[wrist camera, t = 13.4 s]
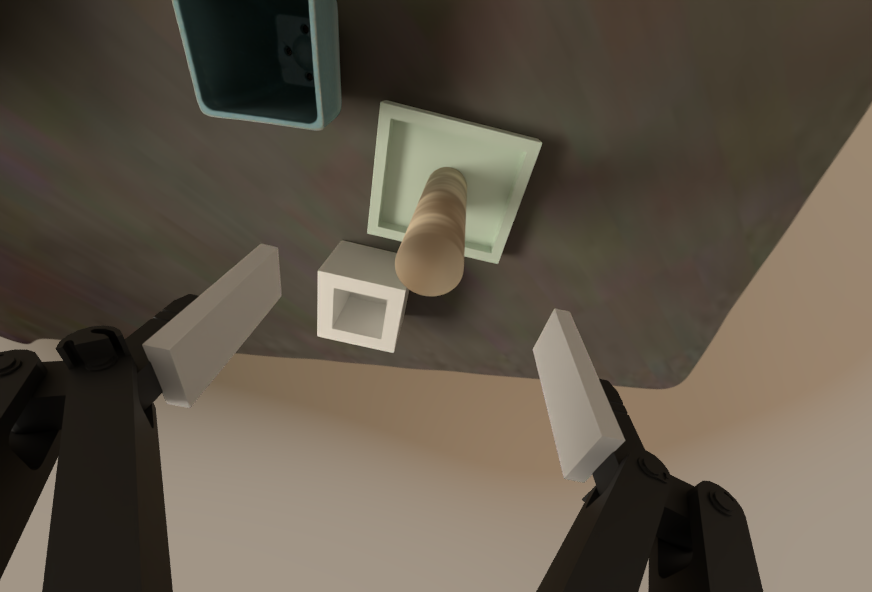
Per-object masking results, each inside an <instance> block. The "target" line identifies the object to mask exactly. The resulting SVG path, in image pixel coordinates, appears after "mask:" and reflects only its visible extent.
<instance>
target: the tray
mask: <svg viewBox="0 0 872 592" xmlns="http://www.w3.org/2000/svg"><path fill="white" fill-rule="evenodd" d="M541 146H542V142H541V141H540V140H539V139H537V138H533V137H529V136H525V135H521V134H518V133H514V132H510V131H506V130H502V129H498V128H494V127H490V126H486V125H482V124H478V123H474V122H470V121H466V120H462V119H459V118H455V117H451V116H447V115H443V114H439V113H435V112H431V111H427V110H423V109H419V108H415V107H411V106H407V105H403V104H399V103H396V102H392V101H388V100H385V101H382V102H380V111H379V120H378V130H377V140H376V150H375V160H374V170H373V180H372V190H371V200H370V210H369V220H368V230H367V233H368V234H372V235H376V236H381V237H385V238H389V239H393V240H398V241H402V240H403V238H404V235H405V233H406V231H407V228H408V226H409V224H410V221H411V219H412V216H413V214H414V212H415V209H416V207H417V204H418V202H419V200H420V197H421V195H422V193H423V190H424V188H425V185H426V183H427V181H428V178H429V177H430V175H431V174H432V173H433V172H434V171H435V170H437V169H439V168H442V167H451V168H454V169H457V170H458V171H459V172H461V173H462V175H463V176H464V178H465V180H466V182H467V204H466V228H465V252H464V256H466V257H470V258H474V259H478V260H483V261H487V262H491V263H495V264H498V262H499V260H500V257H501V254H502V252H503V249H504V246H505V243H506V241H507V238H508V235H509V233H510V230H511V227H512V224H513V222H514V219H515V216H516V214H517V211H518V208H519V205H520V203H521V200H522V197H523V195H524V192H525V189H526V186H527V184H528V181H529V178H530V175H531V173H532V170H533V167H534V165H535V162H536V159H537V156H538V154H539V151H540V148H541Z"/></svg>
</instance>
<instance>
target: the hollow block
mask: <svg viewBox="0 0 872 592" xmlns="http://www.w3.org/2000/svg"><path fill="white" fill-rule="evenodd" d="M396 255H397V253H395V252H390V251H386V250H382V249H378V248H373V247H369V246H365V245H360V244H356V243H352V242H348V241H343V240H341V242H340V243H339V244H338V246H337V247H336V248H335V249H334V251H333V252H332V253H331V254H330V256H329V257H328V258H327V260H326V261H325V262H324V263H323V265H322V266H321V267H320V268H319V270H318V318H317V336H319V337H323V338H328V339H332V340H337V341H341V342H346V343H350V344H355V345H360V346H364V347H369V348H373V349H378V350H382V351H387V352H391V353H394V350H395V346H396V343H397V339H398V336H399V332H400V328H401V325H402V321H403V318H404V314H405V309H406V304H407V299H408V294H409V289H408V288H407V287H405V286H404V285H403V284H402V282H401V281H400V280H399V278H398V276H397V273H396V270H395V258H396Z"/></svg>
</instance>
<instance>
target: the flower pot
mask: <svg viewBox="0 0 872 592" xmlns="http://www.w3.org/2000/svg"><path fill="white" fill-rule="evenodd" d="M172 3H173V7H174V10H175V15H176V19H177V23H178V26H179V30H180V34H181V38H182V42H183V46H184V50H185V54H186V57H187V62H188V67H189V70H190V74H191V78H192V82H193V87H194V91H195V94H196V99H197V102H198V104H199V107H200V109H201V111H202V112H203V113H204V114H206V115H208V116H212V117H219V118H228V119H237V120H245V121H252V122H260V123H267V124H274V125H281V126H288V127H295V128H302V129H308V130H315V131H319V130H322V129H323V128H324V127H325V126H327V125H328V124H329V123H330V122H332V121H333V120H334V119H335V118H336V117H337V116H338V115H339V113H340V110H341V105H342V97H341V77H340V53H339V28H338V7H337V1H336V0H172ZM305 25H306V26H307V27H308V29H309V32H308V33H304V31H303V26H305ZM287 48H290V49H291V52H292V54H291V55H288V54H287V51H286V49H287ZM308 73H310V74H311V75H312V77H313V78H312V80H311V81H310V80H308V78H307V74H308Z"/></svg>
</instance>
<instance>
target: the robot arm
mask: <svg viewBox="0 0 872 592" xmlns="http://www.w3.org/2000/svg"><path fill="white" fill-rule="evenodd" d="M280 297H281V282H280V268H279V255H278V247H274V246H269V245H265V244H260V245H259V246H258V247H256V248H255V249H254V250H253V251H252V252H251V253H249V254H248V255H247V256H246V257H245V258H243V259H242V260H241V261H240V262H239V263H238V264H236V265H235V266H234V267H233V268H232V269H231V270H229V271H228V272H227V273H226V274H225V275H223V276H222V277H221V278H220V279H219V280H218V281H216V282H215V283H214V284H213V285H212V286H211V287H209V288H208V289H207V290H206V291H205V292H203V293H202V294H201V295H200V296H197V295H192V294H188V295H186V296H184V297H181V298H179V299H177V300H174V301H173V302H172V303H170V304H169V305H168V306H167V307H165V308H164V309H163V311H162V312H161V311H160V312H159V313H158V314H156V315H155V316H154V317H153V319H150V320H149V321H148V322H146V323H145V324H144V325H143V326H141V327H140V328H139V329H137V330H136V331H135V332H134V333H132V334H131V335H130V336H129V337H127V338H126V339H125V340H124V337H123V335H122V333H121V331H120V330H119V329H117V328H115V327H111V326H94V327H89V328H85V329H81V330H78V331H76V332H74V333H72V334H70V335H68V336H66V337H65V338H64V339H62V340H61V341H60V342H59V344H58V345H57V347H56V350H57V352H58V353H59V355H60V356H61V358H62V359H63V361H53V362H41V360H40V359H39V357H38V356H37V355H36V353H35V352H32V351H29V350H10V351H4V352H0V579H1V577H2V575H3V573H4V570H5V568H6V566H7V564H8V562H9V560H10V558H11V555H12V553H13V551H14V549H15V547H16V545H17V543H18V541H19V539H20V536H21V534H22V532H23V530H24V528H25V526H26V524H27V522H28V520H29V517H30V515H31V513H32V511H33V509H34V507H35V505H36V503H37V500H38V498H39V496H40V494H41V492H42V490H43V488H44V485H45V483H46V481H47V479H48V477H49V475H50V473H51V471H52V469H53V466H54V464H55V462H56V460H57V458H58V465H57V473H56V482H55V490H54V499H53V507H52V515H51V524H50V532H49V540H48V548H47V557H46V565H45V573H44V582H43V590H42V592H173V590H172V579H171V568H170V557H169V547H168V536H167V525H166V514H165V504H164V493H163V482H162V471H161V461H160V450H159V439H158V429H157V418H156V408H155V405H154V403H153V402H154V401H155V400H156V399H157V398H158V396H159V395H160V394H161V393H163V396H164V398H165V401H166V403H167V404H171V405H177V406H182V407H187V408H191V407H192V405H193V404H194V403H195V402H196V400H197V399H198V398H199V397H200V395H201V394H202V393H203V392H204V390H205V389H206V388H207V387H208V386H209V384H210V383H211V382H212V380H214V378H215V377H216V376H217V375H218V373H219V372H220V371H221V370H222V368H223V367H224V366H225V365H226V364H227V362H228V361H229V360H230V359H231V357H232V356H233V355H234V354H235V352H236V351H237V350H238V349H239V348H240V346H241V345H242V344H243V343H244V341H245V340H246V339H247V338H248V337H249V335H250V334H251V333H252V332H253V330H254V329H255V328H256V327H257V325H258V324H259V323H260V322H261V321H262V319H263V318H264V317H265V316H266V314H267V313H268V312H269V311H270V310H271V308H272V307H273V306H274V305H275V303H276V302H277V301H278V300H279V298H280ZM533 352H534V356H535V360H536V365H537V369H538V373H539V377H540V381H541V385H542V390H543V394H544V398H545V402H546V406H547V410H548V414H549V418H550V423H551V427H552V431H553V435H554V439H555V443H556V448H557V452H558V456H559V459H560V464H561V468H562V472H563V477H564V479H568V480H573V481H579V482H585V481H586V480H587V479H588V478H589V477H590V476H591V475H592V474H593V477H594V480H595V483H596V486H595V487H594V488H593V489H592V490H591V491H590V492H589V493H588V494H587V495H586V496H585V497H584V498H583V499H582V500H583V501H584V502H585V503H584V505H583V507H582V509H581V510H580V512H579V514H578V516H577V518H576V520H575V521H574V523H573V525H572V527H571V529H570V531H569V532H568V534H567V536H566V538H565V540H564V542H563V543H562V546H561V547H560V549H559V551H558V553H557V555H556V556H555V558H554V560H553V562H552V564H551V566H550V567H549V569H548V571H547V573H546V575H545V577H544V578H543V580H542V582H541V584H540V586H539V588H538V590H537V591H536V592H638V591H639V587H640V584H641V581H642V577H643V574H644V571H645V568H646V565H647V561H648V558H649V592H763V589H762V585H761V580H760V576H759V572H758V567H757V563H756V559H755V555H754V550H753V546H752V542H751V538H750V533H749V529H748V525H747V521H746V517H745V515H744V512H743V509H742V508H741V506H740V505H739V504H738V502H737V501H736V499H735V498H734V497H732V495H731V494H730V493H729V492H727V491H726V490H725V489H723V488H722V487H720V486H719V485H717V484H715V483H713V482H710V481H702V482H700V483H699V484H697V485H696V486H695V487H694V486H692V485H690V484H688V483H686V482H684V481H682V480H680V479H678V478H676V477H674V476H672V475H670V474H669V472H668V469H667V468H666V467H665V465H664V464H663V463H662V462H661V461H660V460H659V459H658V458H657V457H656V456H655V455H653V454H651V453H650V452H648V451H646V450H645V449H644V447H643V445H642V442H641V440H640V438H639V436H638V434H637V432H636V430H635V428H634V426H633V423H632V421H631V419H630V417H629V415H627V411H626V409H625V407H624V406H623V402H622V400H621V398H620V396H619V394H618V392H617V391H616V389H615V388H614V387H613V386H612V385H611V384H610V382H609V381H607V380H602V379H599V378H598V376H597V374H596V371H595V369H594V367H593V364H592V362H591V360H590V357H589V355H588V353H587V351H586V348H585V346H584V344H583V341H582V339H581V337H580V334H579V332H578V330H577V327H576V325H575V323H574V320H573V318H572V316H571V313H570V312H568V311H564V310H559V309H555V308H554V310H553V312H552V314H551V316H550V318H549V320H548V322H547V324H546V325H545V327H544V329H543V331H542V333H541V335H540V337H539V339H538V340H537V342H536V344H535V346H534V348H533ZM58 456H59V457H58Z"/></svg>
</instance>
